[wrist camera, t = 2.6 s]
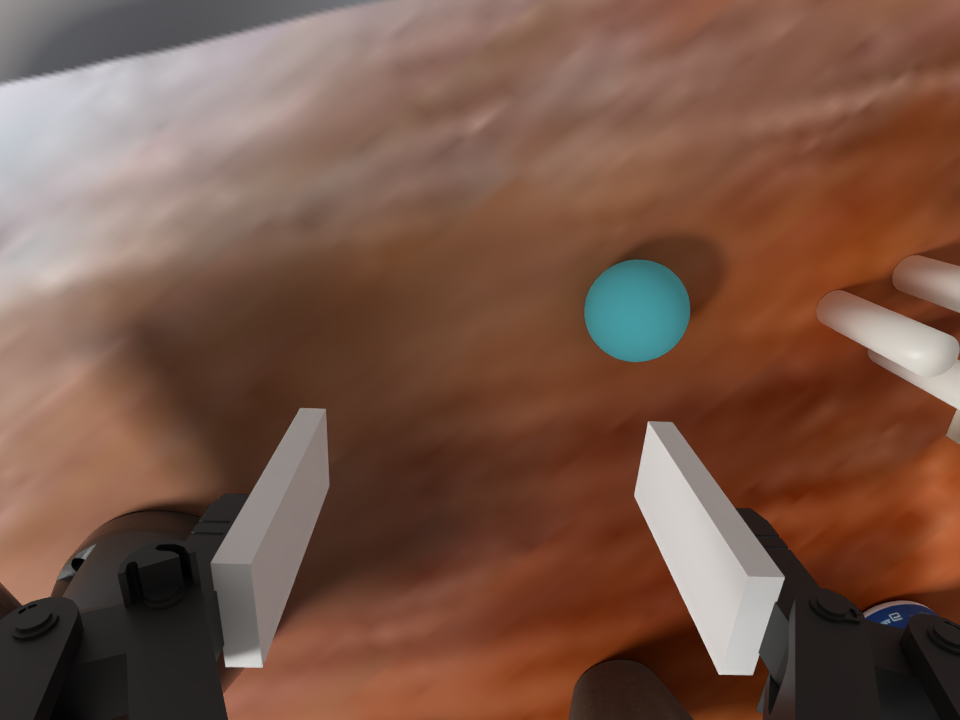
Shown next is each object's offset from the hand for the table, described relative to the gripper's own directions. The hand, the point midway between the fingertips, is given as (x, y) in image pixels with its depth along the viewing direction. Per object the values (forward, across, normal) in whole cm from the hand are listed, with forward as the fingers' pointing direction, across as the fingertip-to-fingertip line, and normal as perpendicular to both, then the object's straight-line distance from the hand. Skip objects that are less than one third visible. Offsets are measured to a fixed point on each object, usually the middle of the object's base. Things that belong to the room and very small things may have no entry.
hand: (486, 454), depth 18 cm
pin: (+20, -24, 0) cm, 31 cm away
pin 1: (+20, -28, -2) cm, 34 cm away
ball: (+17, -10, 0) cm, 19 cm away
